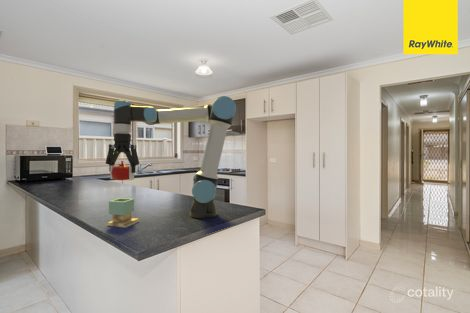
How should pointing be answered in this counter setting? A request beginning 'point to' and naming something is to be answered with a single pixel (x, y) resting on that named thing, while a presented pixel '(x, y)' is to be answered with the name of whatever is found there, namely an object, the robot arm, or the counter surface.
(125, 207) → the cup block
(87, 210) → the counter surface
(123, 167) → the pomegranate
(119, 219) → the plate
